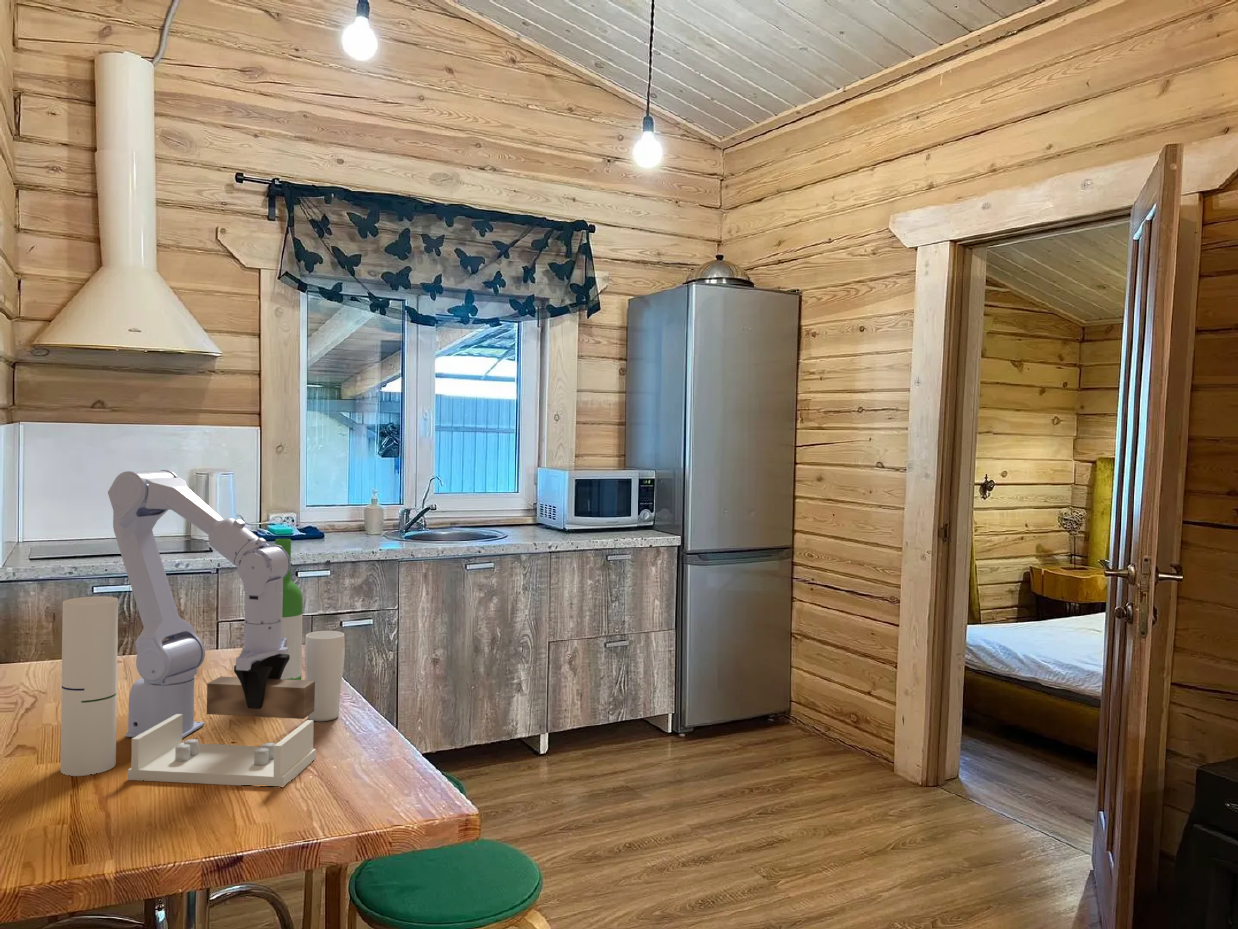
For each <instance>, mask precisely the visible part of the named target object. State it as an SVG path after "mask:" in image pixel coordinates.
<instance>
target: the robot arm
mask: <svg viewBox="0 0 1238 929" xmlns="http://www.w3.org/2000/svg"><path fill="white" fill-rule="evenodd" d="M107 494H108V498H109V501H110V504H111V508H112V512H113V516H112V517H113V519H112V528H113V532H114V535H115V539H116V542H117V545H118V547H119V551H120V555H121V559H122V562H123V564H124V568H125V572H126V574H127V578H128V582H129V585H130V587H131V591H132V594H133V598H134V601H135V603H136V607H137V610H138V614H139V616H140V619H141V620H140V621H141V624H142V626H143V627H142V628H143V629H142V630H141V632H140V634H139V635H138V637H137V639H135V642H134V647H135V650H136V661H135V664H136V665H135V666H136V669H137V672H138V674H139V676H140V677H141V678H138V679H137V680H136V681H134V683H133V684H132V686H131V688H130V691H129V695H128V721H127V722H128V725H127V726H128V728H127V730H128V731H127V732H126V733H125V737H127V738H134V737H136V736H138V735H140V734H141V733H143V732H145V731H147V730H149V729H150V728H152V727H154V726H156V725H158V724H159V723H161V722H163V721H165V720H167V719H168V718H170V717H172V716H174V715H176V714H183V729H182V739H183V738H185V737H186V736H188V735H190V734H191V733H193V732H194V731H197V730H199V729H200V728H201V727H203V726H205V722H204V721H195V678H196V677H195V676H196V675H198V669H199V667H201V665H202V664H203V662H204V660H205V656H206V649H205V646H204V644H203V642H202V640H201V639H200V638H199V637H198V636H197V634H196V632H195V630H194V625H193V624H191V623H189V622H188V621H186V620H184V619H183V618H182V617H180V616H179V615H180V614H179V612H178V609H177V606H176V602H175V600H174V596H173V592H172V590H171V586H170V583H169V580H168V577H167V574H166V571H165V568H164V564H163V561H162V557H161V554H160V551H159V548H158V544H157V542H156V538H155V535H154V532H153V529H154V528H155V526H156V524H157V523H158V521H159V520H160V519H161V518H162V517H163V516H164V515H165V514H166V513H167V512H168V511H169V510H171V511H172V512H174V513H176V514H177V515H179V516H180V517H181V518H183V519H185V520H186V521H187V522H189V523H190V524H192V525H193V526H195V527H196V529H197V528H198V529H199V530H200V531H202V532H204V533H205V534H206V535H207V536H208V545H209V547H211V548H212V549H213V550H215V551H216V552H217V553H219V554H220V555H221V556H222V557H224V558H225V559H226V560H227V561H229V562H230V563H231V564H232V565H234V566H235V567H236V569H237V573H238V576H239V579H240V580H241V581H242V584H243V592H244V624H243V625H244V633H243V636H244V637H243V647H242V650H241V651H240V654H239V656H237V657H235V665H234V666H233V673H234V674H235V675H236V677H238V679H239V680H240V683H241V685H242V688H243V691H244V695H245V699H246V703H247V707H248V708H251V709H260V708H262V705H263V701H264V695H265V688H266V683H267V680H268V679H281V676H282V673H283V671H284V668H285V666H286V664H287V663H288V661H289V659H290V655H289V654H285V653H287V652H288V647H287V638H282V602H283V577H285V576H286V575H287V574H288V572H289V570H290V565H291V566H292V564H291V563H292V561H291V562H290V557H289V555H288V553H287V552H286V551H285V550H284V549H283V547H282V546H280V545H275V544H268V543H267V540H266V539H264V538H263V537H259V536H258V535H256V534H255V533H254V532H252V531H251V530H250V529H248V528H247V527H246V522H245V521H243V520H242V519H236V518H233V517H231V518H223V517H222V516H221V515H220V514H218V513H217V512H216V511H215V510H214V509H213V508H212V507H210V505H208V504H207V503H206V502H205V501H204V500H202V498H200V497H199V496H198V495H197V494H196V493H195V492H193V491H192V490H191V489H190V488H189V487H188V484H187V481H186V480H185V479H183V478H182V477H179V476H178V475H177V474H176V472H173V471H172V470H169V469H161V470H152V471H151V470H149V471H130V470H128V471H126V470H125V471H123V472H121V473H119V474H118V475H117V476H116V477H115V479H114V481H113V483H112V484H111V486H110V488H109V490H108V491H107ZM165 639H166V640H165Z"/></svg>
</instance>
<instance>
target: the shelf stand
mask: <svg viewBox="0 0 1238 929" xmlns="http://www.w3.org/2000/svg"><path fill="white" fill-rule="evenodd" d="M314 722H315V721H314V720H311V719H306V721H304V722H302V723H301V724H300V725H299V726H298V727H297V728H295V729H294V730H292V731H291V732H290V733H288V734H287V735H285V737H283V738H282V739H280V741H278V742H277V743H275V742H265V743H263V744H261V746H258V745H241V744H220V743H219V744H217V743H201V742H200V743H199V739H197V738H190V739H186V740H184V741H183V738H182V729H183V714H176V715H174V716H172V717H170V718H168V719H167V720H165V721H163V722H161V723H159V724H158V725H156V726H154V727H152V728H150V729H149V730H147V731H145V732H143V733H141V734H140V735H138V736H136V737H131V758H130V759H131V763H130V764H131V765H130V766H131V767H130V768H128V769H127V780H128V781H142V782H144V781H145V782H163V783H183V784H205V785H221V786H222V785H224V786H241V785H266V786H284V785H286V784H287V783H288V782H289V781H290V782H292V781H293V780H294V779H295V778H296V777H297V776H299V775H300V774H301V773H302V772H303V771H304V770H305V769H306V768H307V767H308V766H309V765H310V764H312V763H313V762H314V761H315V760H316V759H317V749H316V748H314ZM313 760H314V761H313ZM312 761H313V762H312ZM292 779H293V780H292ZM143 780H144V781H143ZM291 780H292V781H291ZM290 782H289V783H290ZM289 783H288V784H289ZM288 784H287V785H288ZM287 785H286V786H287Z"/></svg>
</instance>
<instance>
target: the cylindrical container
mask: <svg viewBox="0 0 1238 929" xmlns="http://www.w3.org/2000/svg"><path fill="white" fill-rule="evenodd" d="M61 622H62V627H61V628H62V629H61V630H62V631H61V634H62V635H61V638H62V639H61V692H60V693H61V695H60V696H61V698H60V699H61V701H60V702H61V704H60V705H61V707H60V708H61V709H60V712H61V713H60V773H61V774H62V773H63V774H62V775H64V774H65V775H66V776H69V775H70V777H71V776H72V777H83V776H84V777H85V776H90V774H92V775H97V774H100V773H103V772H107V771H110V770H111V769H112V768H114V767H115V766H116V764H117V763H116V762H117V760H116V759H117V756H116V755H117V709H118V708H117V707H118V706H117V703H118V702H117V701H118V700H117V699H118V697H117V696H118V646H119V645H118V643H119V642H118V637H119V636H118V634H119V632H118V629H119V598H117V597H114V596H107V595H106V596H101V595H100V596H98V595H95V596H83V597H82V596H81V597H73V598H69V599H65V600H63V601H62V621H61ZM96 773H97V774H96Z"/></svg>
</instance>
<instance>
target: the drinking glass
mask: <svg viewBox="0 0 1238 929" xmlns="http://www.w3.org/2000/svg"><path fill="white" fill-rule="evenodd" d="M345 638H346V637H345V633H344V632H342V631H339V630H319V631H312V632H308V633H306V634H305V640H304V668H305V680H307V681H315V703H314V712H312V713H311V714H310V715H308V716H307V717H308V720H314V722H328V721H333V720H335V719H337V718H338V717H339V715H340V702H341V694H342V693H341V691H342V690H341V689H342V681H343V673H344V665H345V651H346V646H345V645H346V642H345V641H346V640H345Z"/></svg>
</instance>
